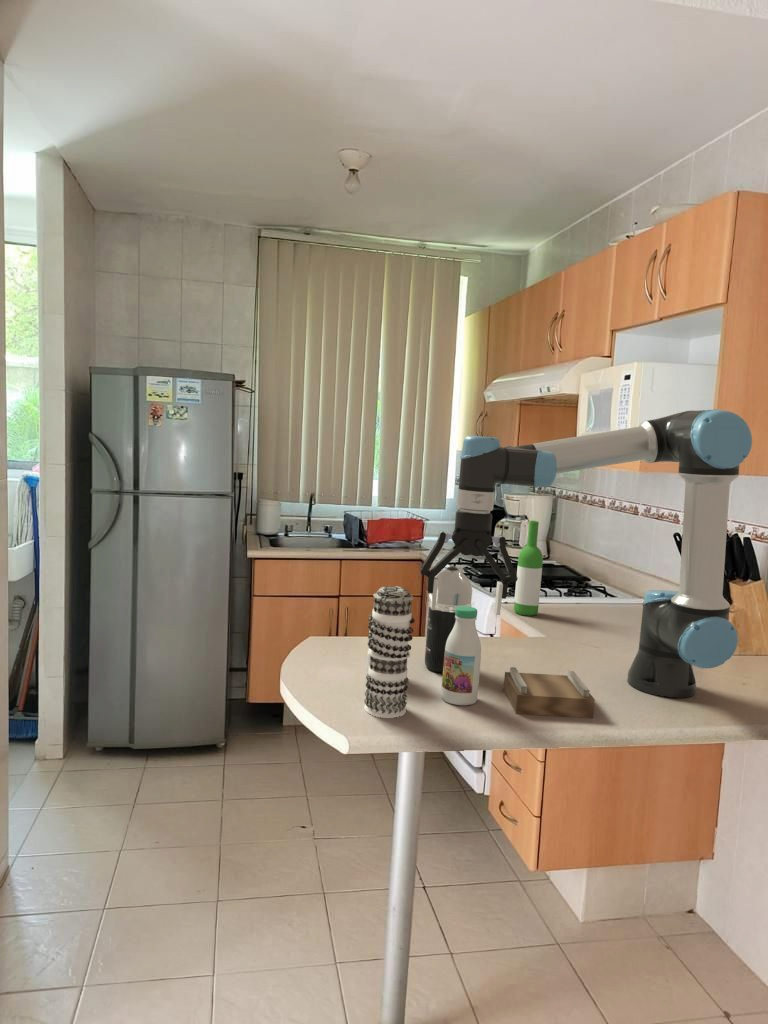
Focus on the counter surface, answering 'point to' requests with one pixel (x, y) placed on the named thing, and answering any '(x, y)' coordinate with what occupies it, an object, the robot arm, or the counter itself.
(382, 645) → the decorative candle
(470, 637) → the milk bottle
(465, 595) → the black water bottle
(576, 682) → the display riser
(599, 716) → the counter surface
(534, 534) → the wine bottle
